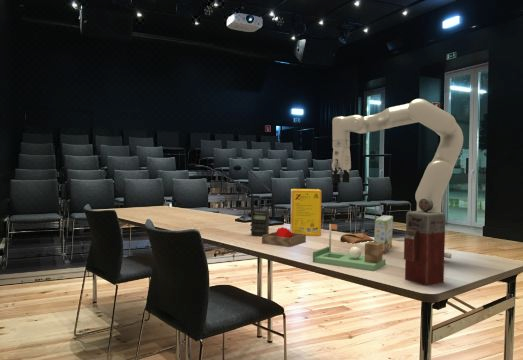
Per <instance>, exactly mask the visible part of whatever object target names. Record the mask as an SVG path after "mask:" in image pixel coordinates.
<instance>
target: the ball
mask: <svg viewBox="0 0 523 360" xmlns="http://www.w3.org/2000/svg"><path fill="white" fill-rule="evenodd" d="M348 254H349V255H350V257H351V258H353V259H357V258H359V257H360V256H362V250H361V248H360V247H358V246H352V247H350V248H349V250H348Z"/></svg>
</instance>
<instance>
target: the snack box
mask: <svg viewBox="0 0 523 360" xmlns="http://www.w3.org/2000/svg"><path fill="white" fill-rule="evenodd" d="M393 223H394V216H393V215H386V214H385V215H383V214H382V215H381V216H379V217H378V218H376V219H375V220H374V236H373V238H374V239H373V240H374V241H373V242H380V243H383V255H385V254H386V253H387V251H389V250H390V249H391V248H392V247H393Z"/></svg>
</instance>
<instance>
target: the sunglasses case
mask: <svg viewBox="0 0 523 360" xmlns="http://www.w3.org/2000/svg"><path fill="white" fill-rule="evenodd" d="M339 240H340V242H341V243H344V242H347V243H346V244H350V243H352V244H351V245H354V243H355V244H360V242H361V243H368V242H367V241H369V242H370V241H371V242H374V239H373V238H371V237H370V236H368V235H367V234H366V233H365V232H360V233H351V234H349V233H345V234H343V235H341V236H340V239H339Z"/></svg>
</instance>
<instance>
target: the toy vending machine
mask: <svg viewBox="0 0 523 360" xmlns="http://www.w3.org/2000/svg"><path fill="white" fill-rule="evenodd" d="M419 208H420V209H421V210H422V211H417V210H413V211H412V210H411V211H407V212H406V214H405V217H406V219H405V223H406V224H405V233H404V237H403V238H404V239H403V240H404V241H403V260H405V264H404V265H405V267H404V280H406V281H410V282H412V283H416V284H419V285H423V286H431V285H432V286H433V285H437V284H442V283H444V280H445V278H444V277H445V257H444V253H445V251H446V250H445V247H446V246H445V245H446V244H445V243H446V214H445V213H444V212H442V211H441V212H432V211H430V210H431V209H432V208H433V202H432V200H431V199H429V198H424V199H421V200H420V201H419Z"/></svg>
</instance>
